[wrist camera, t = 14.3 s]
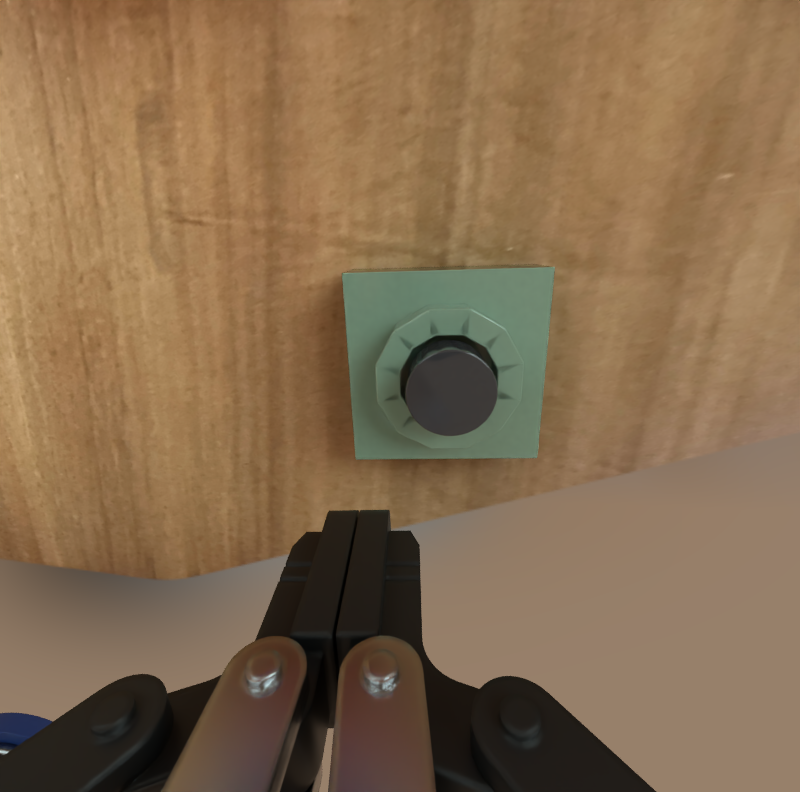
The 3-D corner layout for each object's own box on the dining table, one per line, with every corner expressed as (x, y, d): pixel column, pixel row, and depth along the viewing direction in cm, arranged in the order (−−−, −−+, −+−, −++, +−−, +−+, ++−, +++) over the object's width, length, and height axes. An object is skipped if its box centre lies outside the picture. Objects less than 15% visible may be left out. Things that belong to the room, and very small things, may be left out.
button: (488, 418, 21) (495, 436, 19) (407, 419, 21) (406, 437, 19) (492, 338, 19) (500, 348, 17) (405, 340, 19) (404, 350, 17)
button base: (523, 433, 26) (547, 475, 21) (362, 435, 26) (350, 476, 22) (536, 263, 22) (568, 269, 18) (351, 269, 23) (334, 275, 18)
